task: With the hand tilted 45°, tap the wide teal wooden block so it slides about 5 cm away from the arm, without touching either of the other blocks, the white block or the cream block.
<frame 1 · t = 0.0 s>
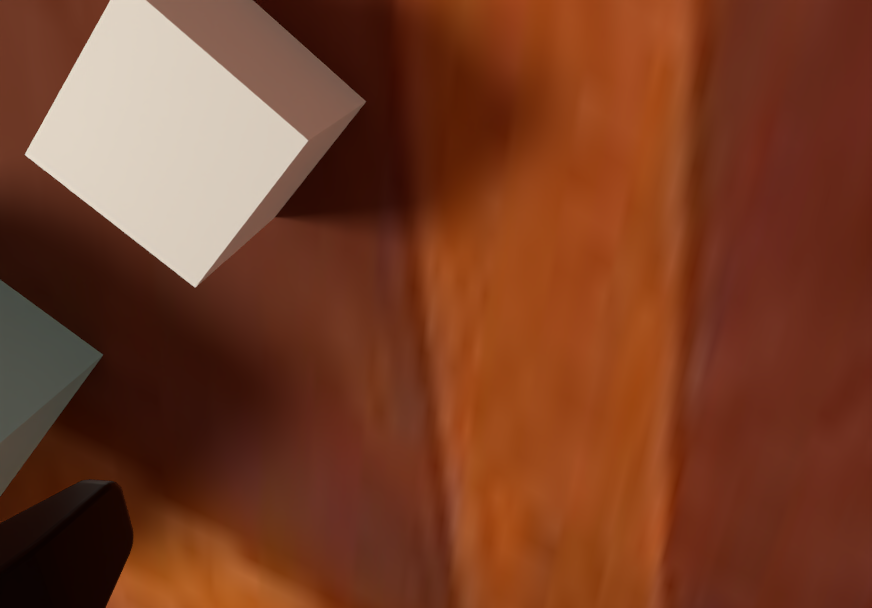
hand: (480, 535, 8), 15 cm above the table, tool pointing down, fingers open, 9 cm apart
white block: (256, 107, 21), on the table
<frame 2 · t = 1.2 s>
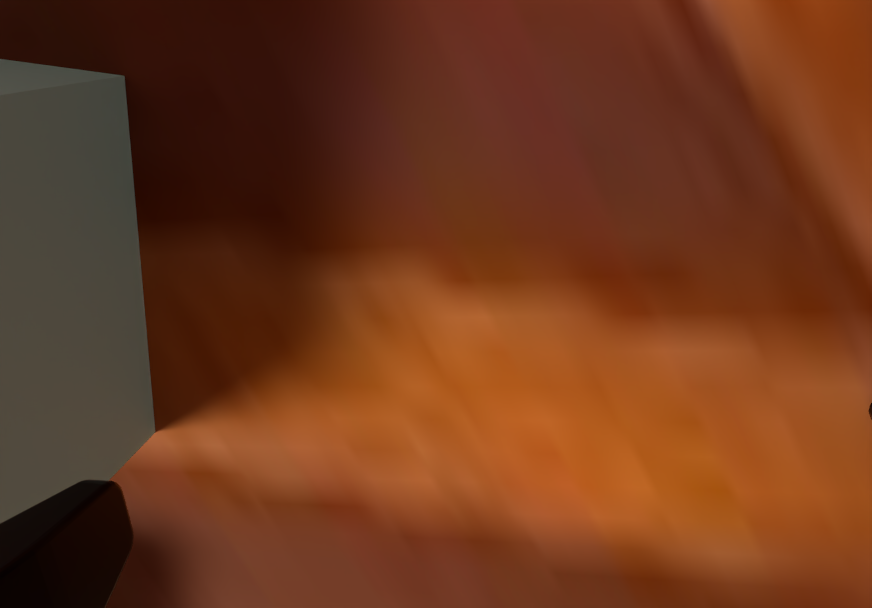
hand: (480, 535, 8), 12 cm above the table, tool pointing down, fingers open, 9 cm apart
teal block: (0, 248, 22), on the table
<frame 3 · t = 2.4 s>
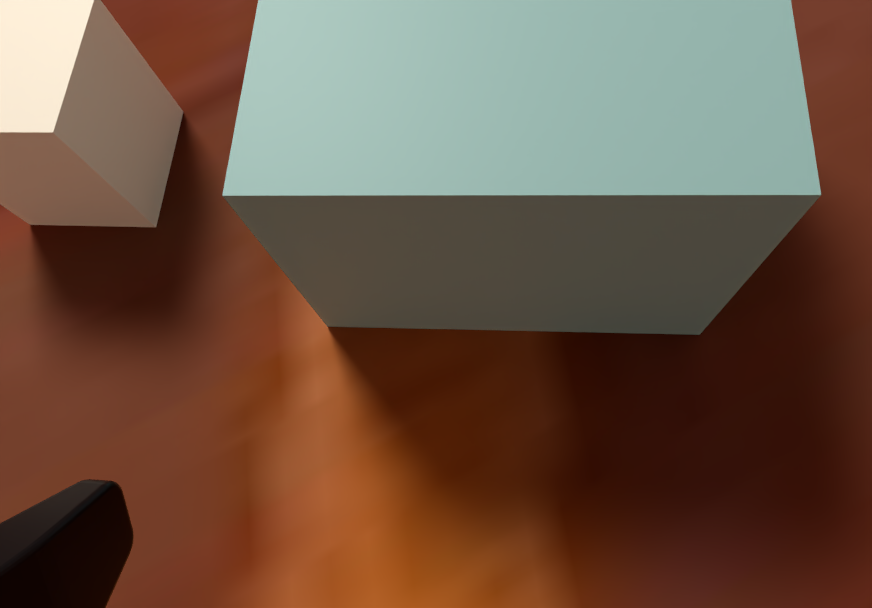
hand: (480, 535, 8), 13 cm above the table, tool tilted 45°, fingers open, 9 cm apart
cream block: (109, 167, 26), on the table
teal block: (510, 196, 24), on the table
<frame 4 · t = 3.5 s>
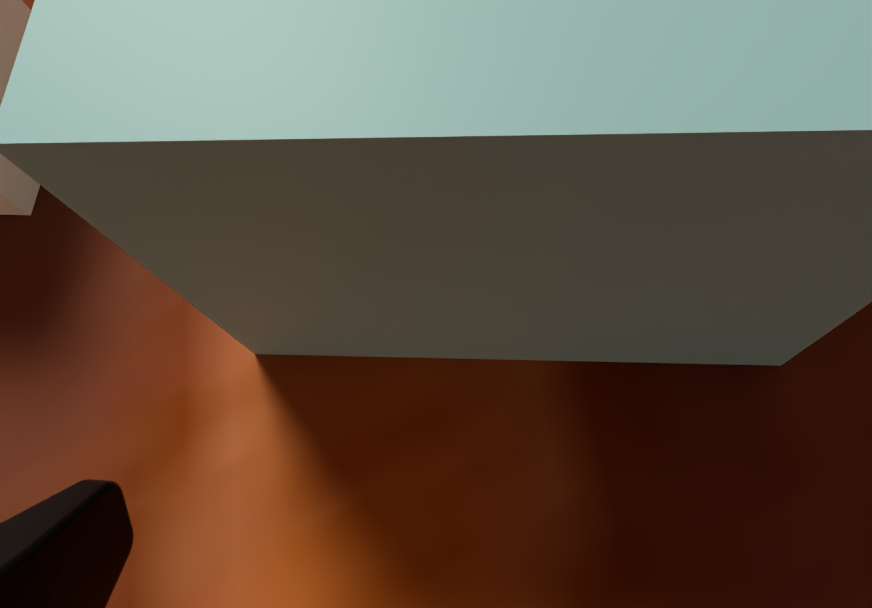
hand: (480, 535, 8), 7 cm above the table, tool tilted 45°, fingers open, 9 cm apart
teal block: (509, 172, 17), on the table
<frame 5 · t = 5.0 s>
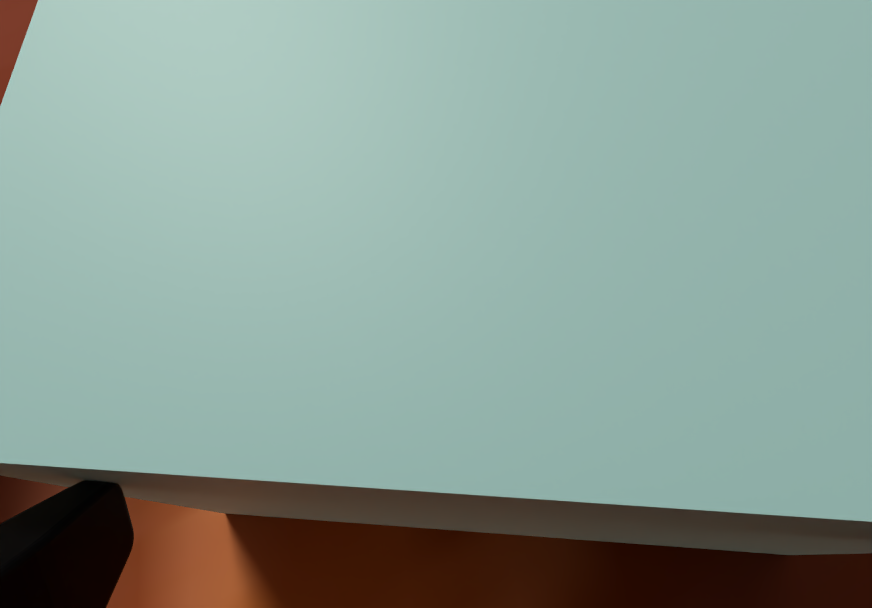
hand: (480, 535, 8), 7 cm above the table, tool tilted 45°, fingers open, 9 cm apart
teal block: (502, 313, 16), on the table, touching gripper
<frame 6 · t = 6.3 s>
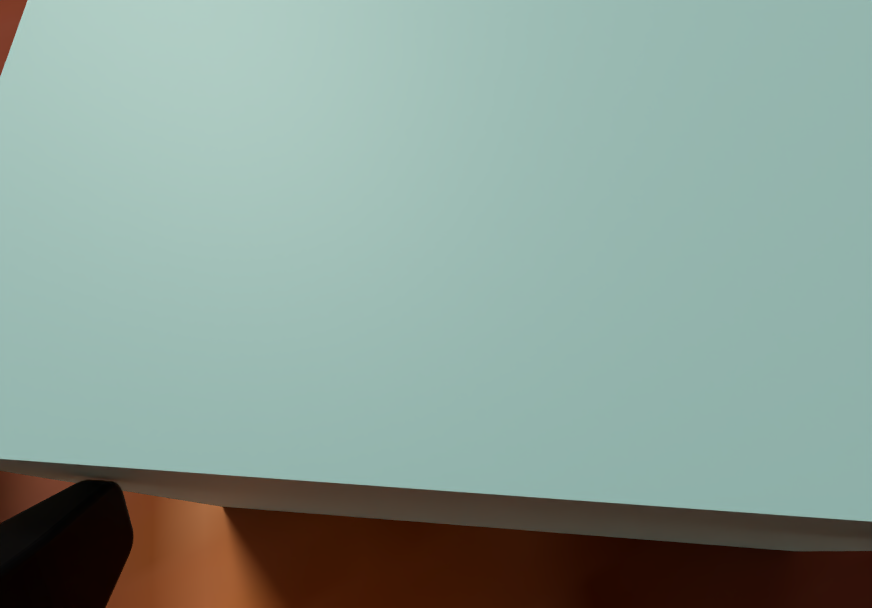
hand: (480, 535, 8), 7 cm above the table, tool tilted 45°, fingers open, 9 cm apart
teal block: (504, 306, 16), on the table, touching gripper
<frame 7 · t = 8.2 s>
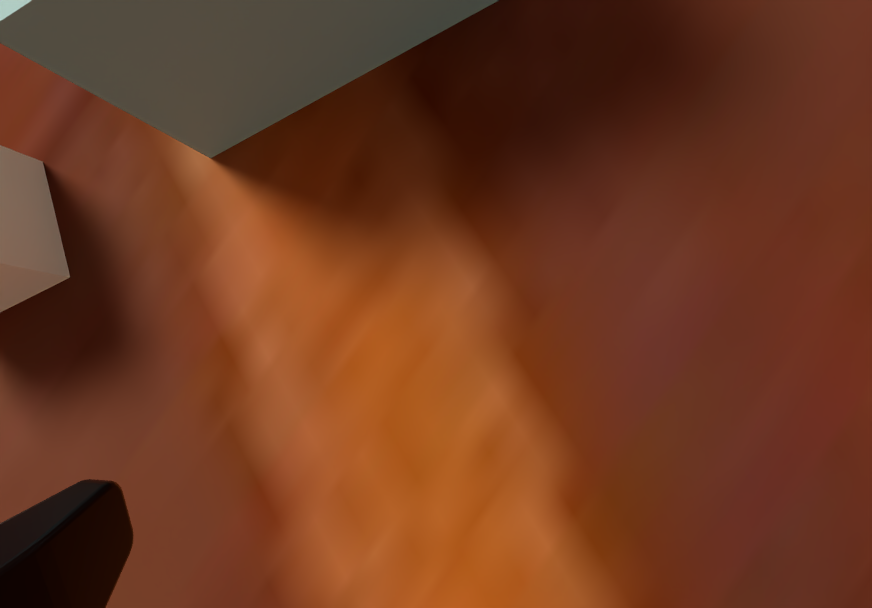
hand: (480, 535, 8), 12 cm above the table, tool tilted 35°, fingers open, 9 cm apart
cream block: (7, 244, 27), on the table
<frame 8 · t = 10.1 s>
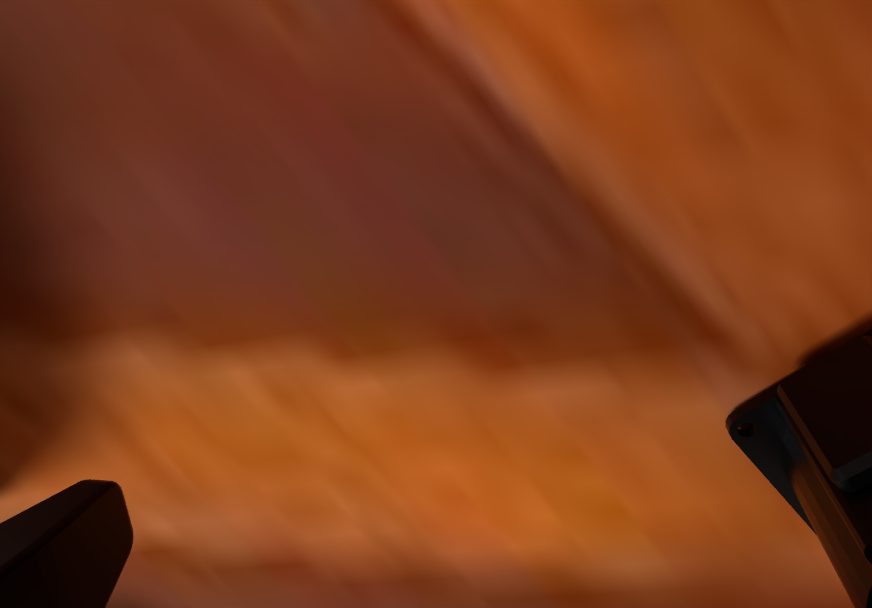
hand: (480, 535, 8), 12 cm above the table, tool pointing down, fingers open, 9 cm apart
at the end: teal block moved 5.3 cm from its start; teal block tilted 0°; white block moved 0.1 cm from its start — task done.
